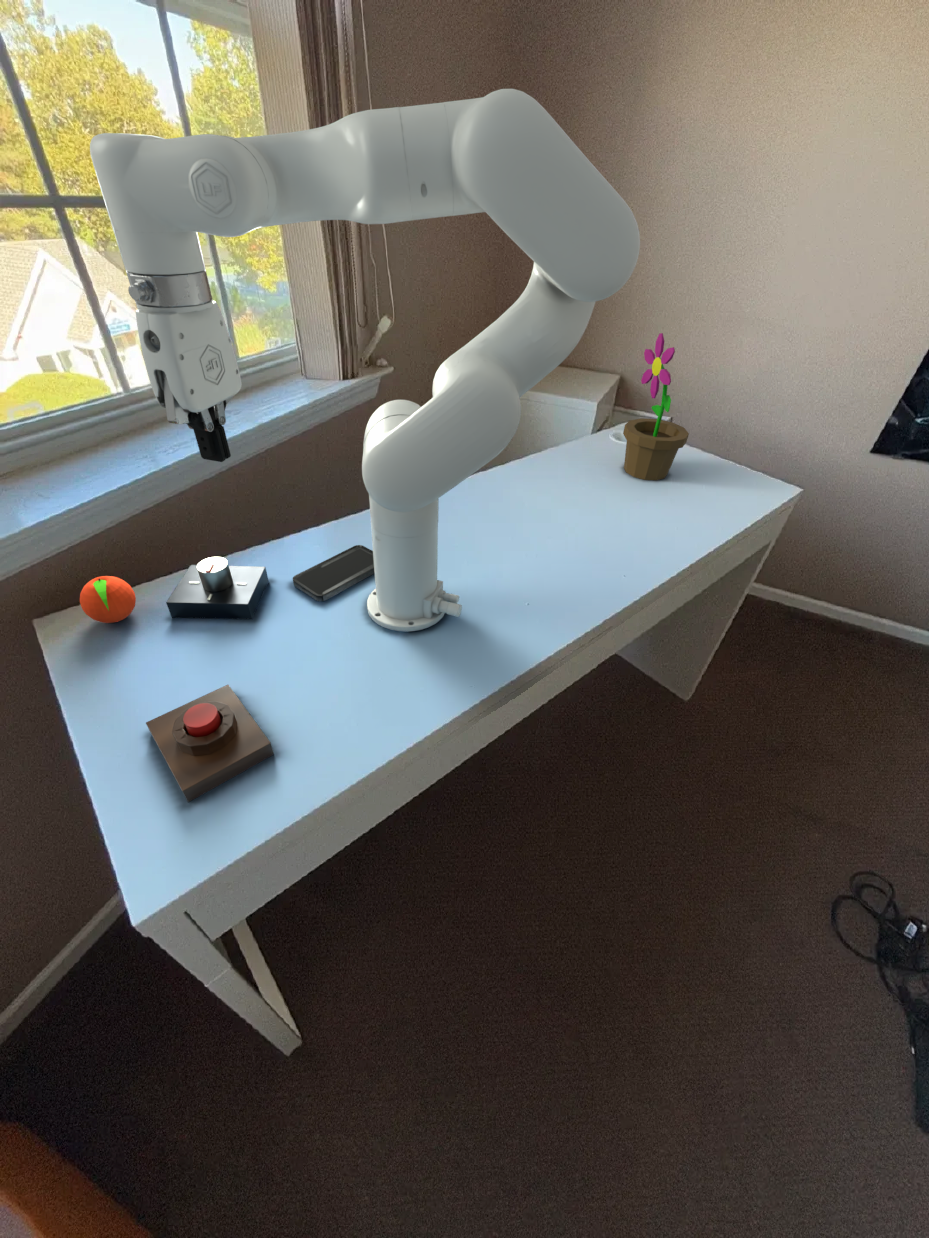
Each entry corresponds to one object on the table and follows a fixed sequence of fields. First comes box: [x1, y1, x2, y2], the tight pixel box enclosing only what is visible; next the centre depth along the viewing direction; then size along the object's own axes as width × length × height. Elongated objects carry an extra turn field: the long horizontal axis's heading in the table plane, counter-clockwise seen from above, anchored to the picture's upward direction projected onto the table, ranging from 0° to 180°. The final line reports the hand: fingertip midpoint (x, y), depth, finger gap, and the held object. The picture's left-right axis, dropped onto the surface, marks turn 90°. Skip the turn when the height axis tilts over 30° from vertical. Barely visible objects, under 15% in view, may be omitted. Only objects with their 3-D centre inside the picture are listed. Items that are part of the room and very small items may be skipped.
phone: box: [292, 544, 375, 602], centre depth 93 cm, size 8×1×15 cm
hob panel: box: [165, 564, 270, 620], centre depth 86 cm, size 12×10×3 cm
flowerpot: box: [622, 332, 690, 481], centre depth 122 cm, size 14×14×30 cm
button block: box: [145, 684, 275, 803], centre depth 64 cm, size 12×10×4 cm
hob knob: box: [196, 556, 233, 592], centre depth 84 cm, size 4×4×4 cm
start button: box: [183, 703, 221, 737], centre depth 62 cm, size 4×4×2 cm
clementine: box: [79, 575, 137, 624], centre depth 80 cm, size 8×7×7 cm
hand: (216, 457), depth 69 cm, fingers closed
